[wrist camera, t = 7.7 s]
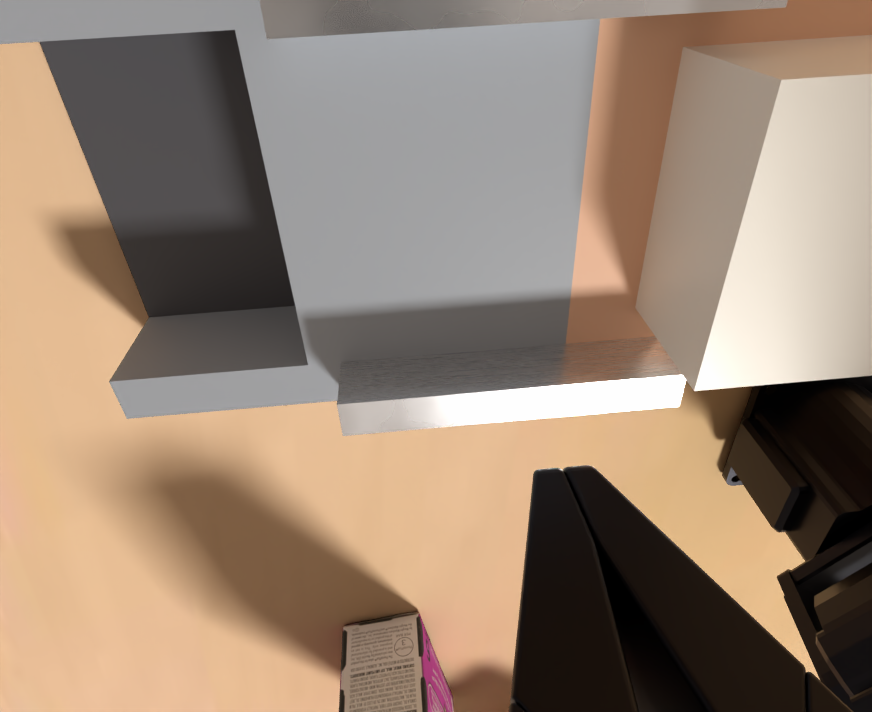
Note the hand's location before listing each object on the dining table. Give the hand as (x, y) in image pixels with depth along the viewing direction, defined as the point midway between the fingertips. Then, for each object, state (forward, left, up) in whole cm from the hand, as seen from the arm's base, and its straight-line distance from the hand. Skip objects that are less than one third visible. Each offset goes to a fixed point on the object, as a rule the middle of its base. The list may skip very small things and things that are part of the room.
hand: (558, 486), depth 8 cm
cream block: (-8, -1, -9) cm, 12 cm away
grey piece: (0, -1, -13) cm, 13 cm away
